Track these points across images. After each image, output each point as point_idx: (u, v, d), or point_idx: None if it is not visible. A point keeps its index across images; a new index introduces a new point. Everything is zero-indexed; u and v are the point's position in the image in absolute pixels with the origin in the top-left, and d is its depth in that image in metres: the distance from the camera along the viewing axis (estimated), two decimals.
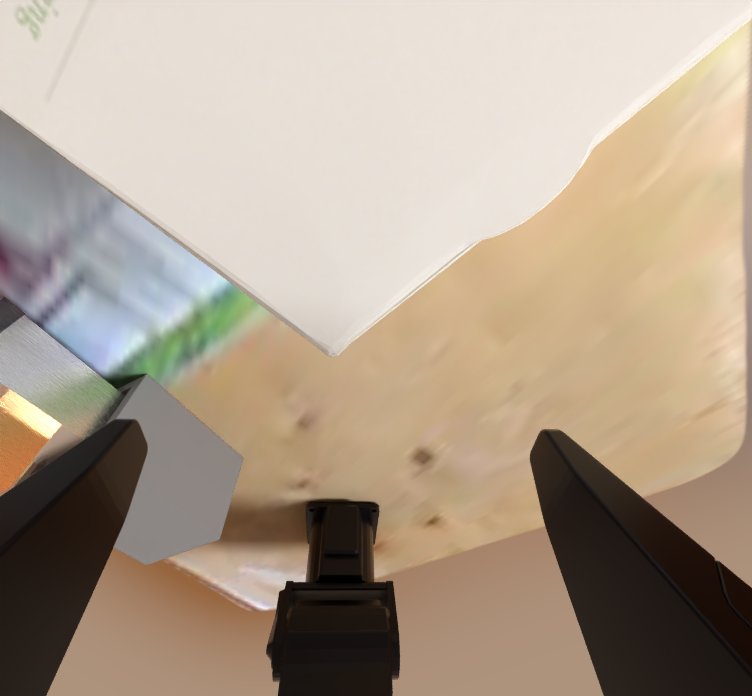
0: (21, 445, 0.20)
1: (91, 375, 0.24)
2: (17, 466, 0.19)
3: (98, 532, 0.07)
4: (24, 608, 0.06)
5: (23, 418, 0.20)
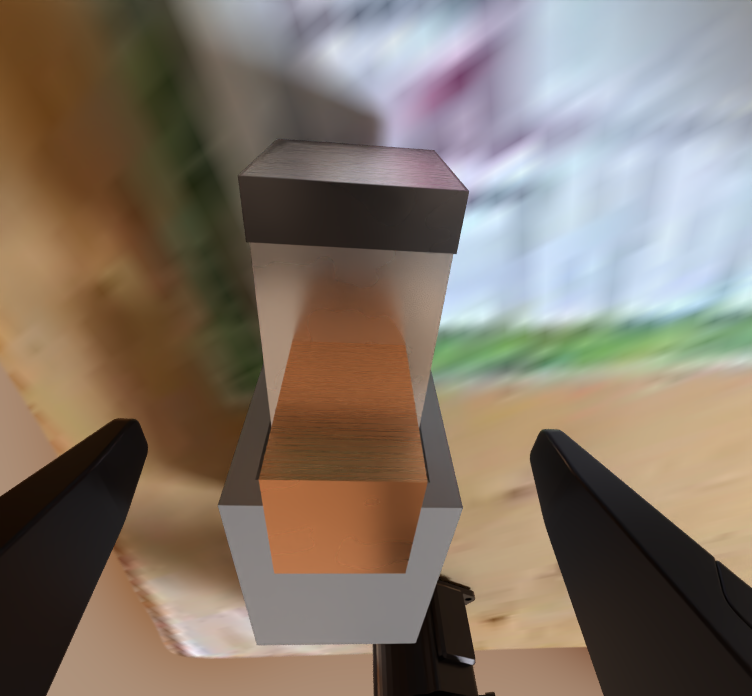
0: None
1: None
2: None
3: (98, 532, 0.07)
4: (24, 608, 0.06)
5: None
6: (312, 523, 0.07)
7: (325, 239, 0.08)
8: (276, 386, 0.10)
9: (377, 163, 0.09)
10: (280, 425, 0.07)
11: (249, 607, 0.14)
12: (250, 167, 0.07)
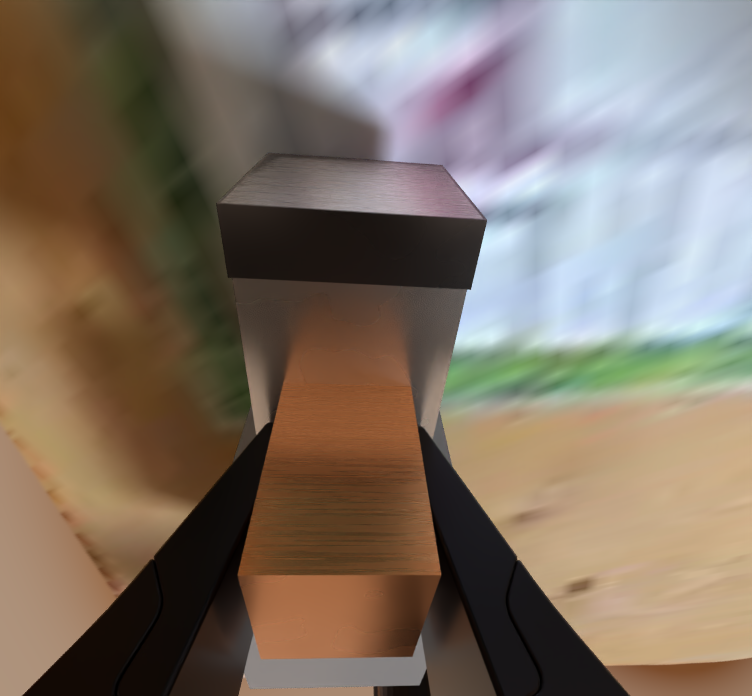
0: None
1: None
2: None
3: None
4: (238, 607, 0.06)
5: None
6: (303, 614, 0.06)
7: (319, 274, 0.07)
8: None
9: (379, 183, 0.08)
10: (266, 496, 0.06)
11: None
12: (232, 191, 0.06)
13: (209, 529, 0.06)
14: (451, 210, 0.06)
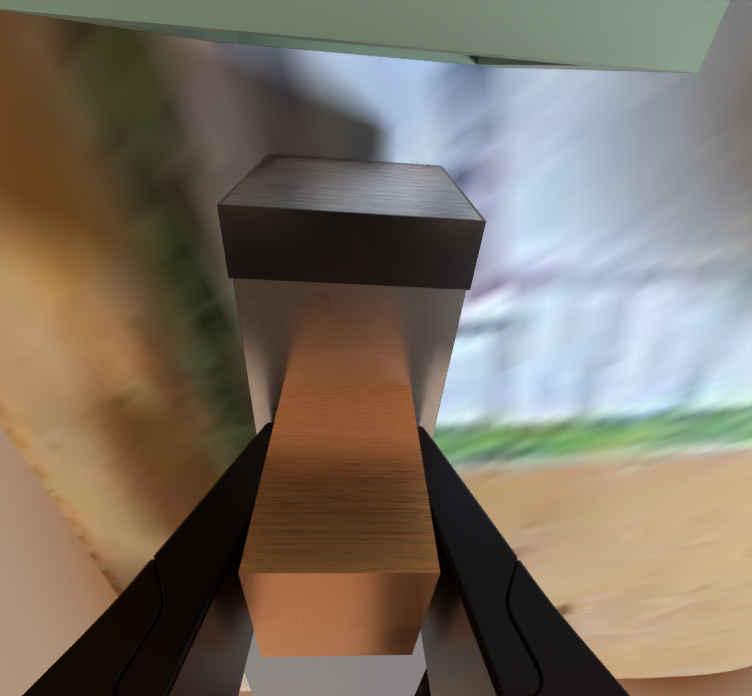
0: None
1: None
2: None
3: None
4: (238, 607, 0.06)
5: None
6: (304, 613, 0.06)
7: (319, 274, 0.07)
8: None
9: (379, 184, 0.08)
10: (266, 495, 0.06)
11: (253, 690, 0.15)
12: (233, 192, 0.06)
13: (209, 529, 0.06)
14: (450, 211, 0.06)
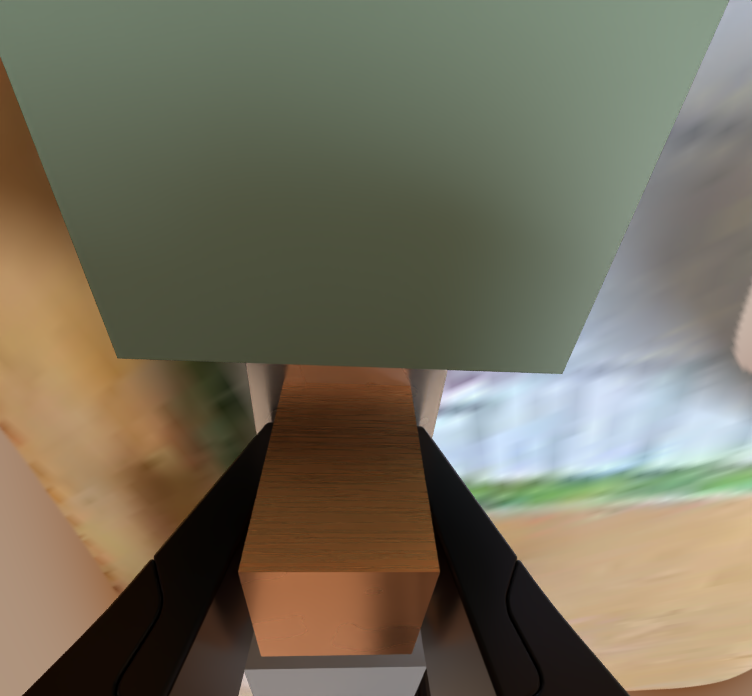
0: None
1: None
2: None
3: None
4: (238, 607, 0.06)
5: None
6: (304, 612, 0.06)
7: None
8: None
9: None
10: (266, 494, 0.06)
11: None
12: None
13: (209, 529, 0.06)
14: None
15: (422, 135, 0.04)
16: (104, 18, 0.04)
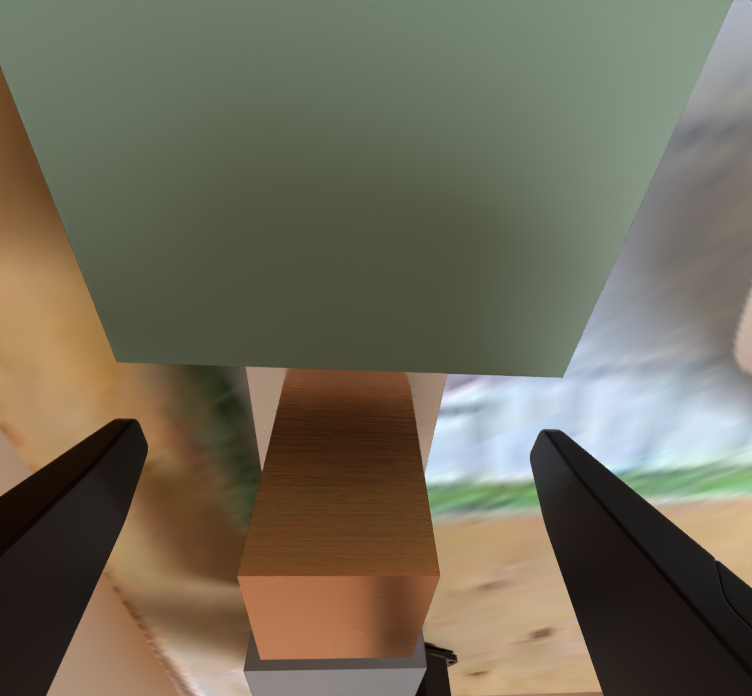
0: None
1: None
2: None
3: (98, 532, 0.07)
4: (24, 608, 0.06)
5: None
6: (303, 616, 0.06)
7: None
8: (266, 430, 0.09)
9: None
10: (265, 497, 0.06)
11: None
12: None
13: None
14: None
15: (422, 140, 0.04)
16: (103, 23, 0.04)
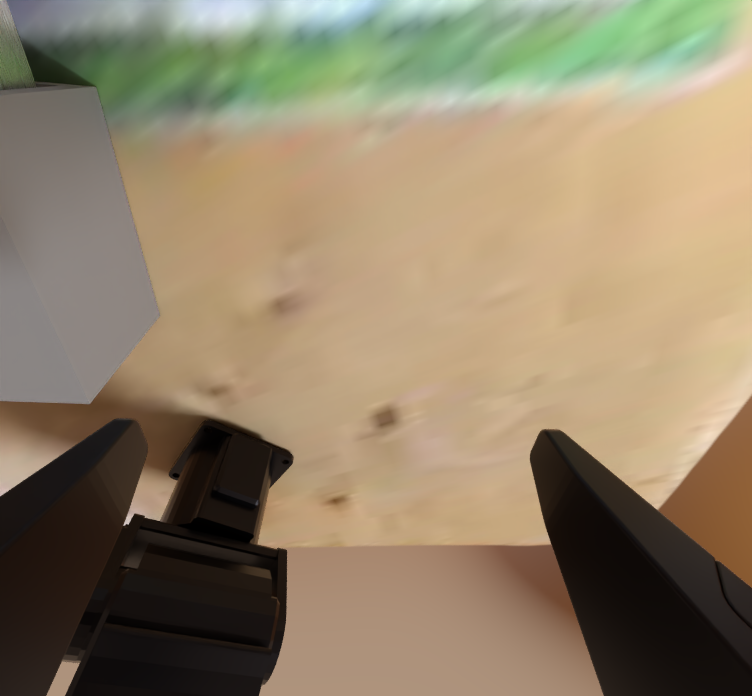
0: None
1: None
2: None
3: (98, 532, 0.07)
4: (24, 608, 0.06)
5: None
6: None
7: None
8: None
9: None
10: None
11: None
12: None
13: None
14: None
15: None
16: None
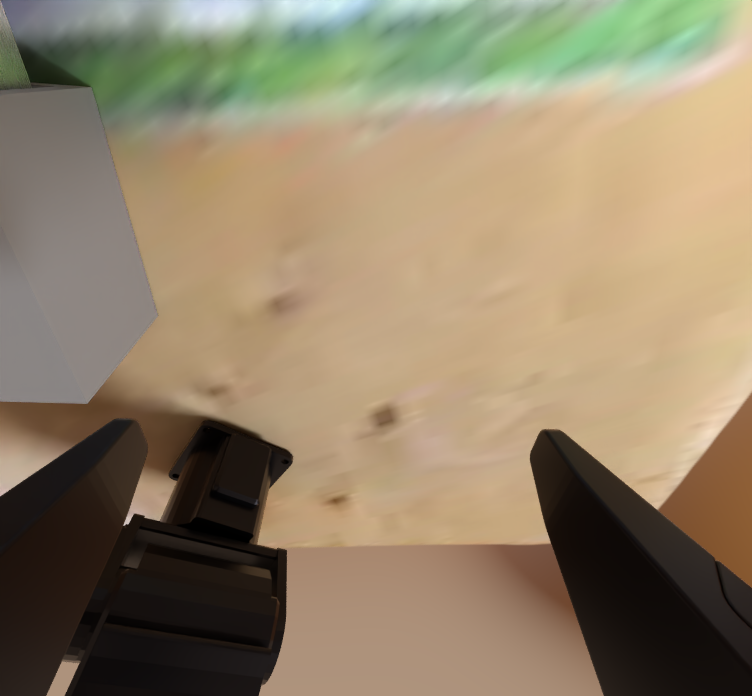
0: None
1: None
2: None
3: (98, 532, 0.07)
4: (24, 608, 0.06)
5: None
6: None
7: None
8: None
9: None
10: None
11: None
12: None
13: None
14: None
15: None
16: None
